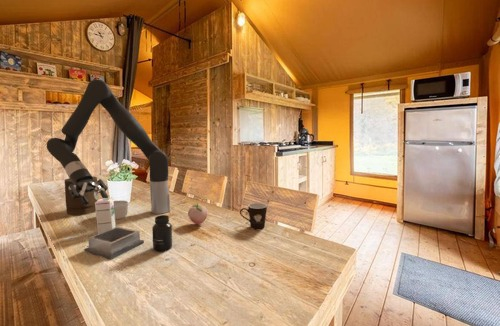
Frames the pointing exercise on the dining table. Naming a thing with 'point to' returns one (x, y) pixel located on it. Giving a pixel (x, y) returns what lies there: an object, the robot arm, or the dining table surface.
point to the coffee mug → (256, 215)
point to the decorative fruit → (197, 214)
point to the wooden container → (76, 205)
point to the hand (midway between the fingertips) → (97, 201)
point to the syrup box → (105, 214)
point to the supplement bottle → (162, 234)
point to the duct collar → (113, 242)
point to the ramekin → (120, 209)
